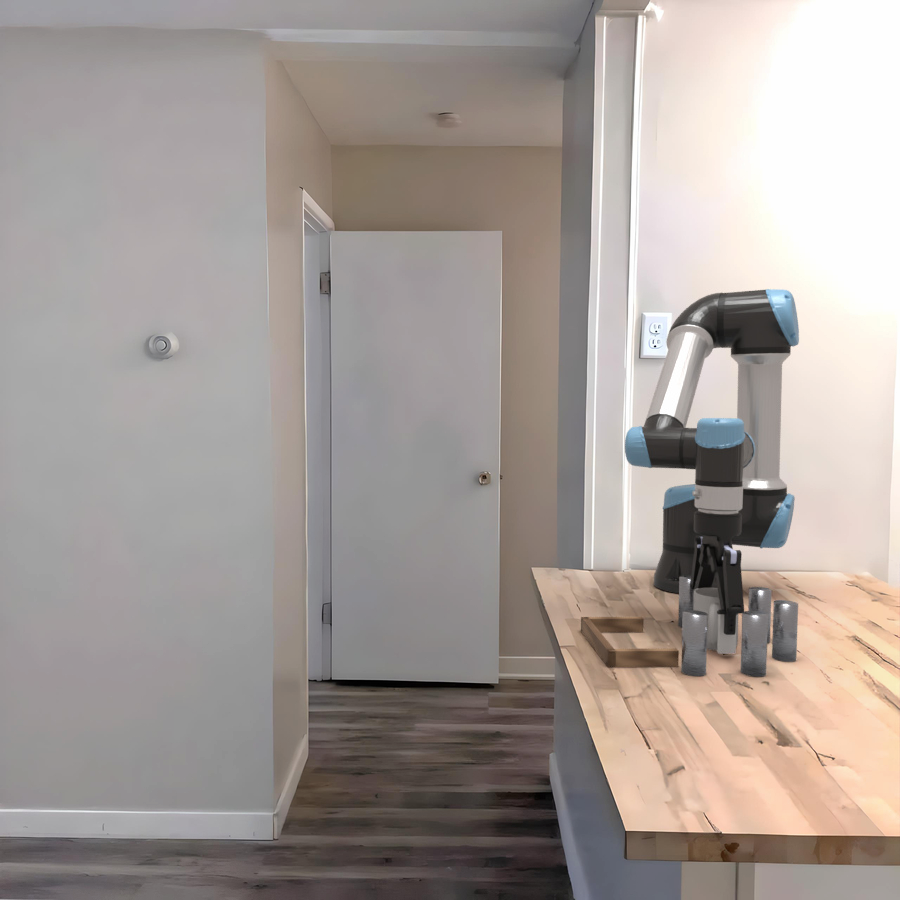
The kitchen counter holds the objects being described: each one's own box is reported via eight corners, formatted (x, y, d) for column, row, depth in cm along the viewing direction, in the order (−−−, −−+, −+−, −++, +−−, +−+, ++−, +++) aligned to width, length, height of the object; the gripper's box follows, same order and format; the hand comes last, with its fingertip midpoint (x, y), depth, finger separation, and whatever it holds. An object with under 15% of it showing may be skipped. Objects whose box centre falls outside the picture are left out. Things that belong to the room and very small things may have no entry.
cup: (738, 641, 130) (739, 590, 129) (736, 658, 121) (738, 603, 120) (694, 636, 133) (695, 586, 132) (689, 653, 123) (690, 599, 123)
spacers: (741, 623, 141) (743, 575, 140) (822, 676, 113) (824, 617, 112) (633, 623, 140) (634, 575, 139) (687, 677, 112) (688, 617, 111)
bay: (641, 630, 136) (641, 616, 136) (678, 666, 117) (678, 650, 116) (580, 630, 135) (581, 616, 135) (608, 667, 116) (608, 651, 116)
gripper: (673, 502, 136) (669, 624, 138) (722, 520, 114) (718, 665, 115) (713, 502, 137) (710, 624, 138) (771, 520, 115) (766, 665, 116)
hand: (713, 643), depth 127 cm, fingers closed on cup, 9 cm apart
